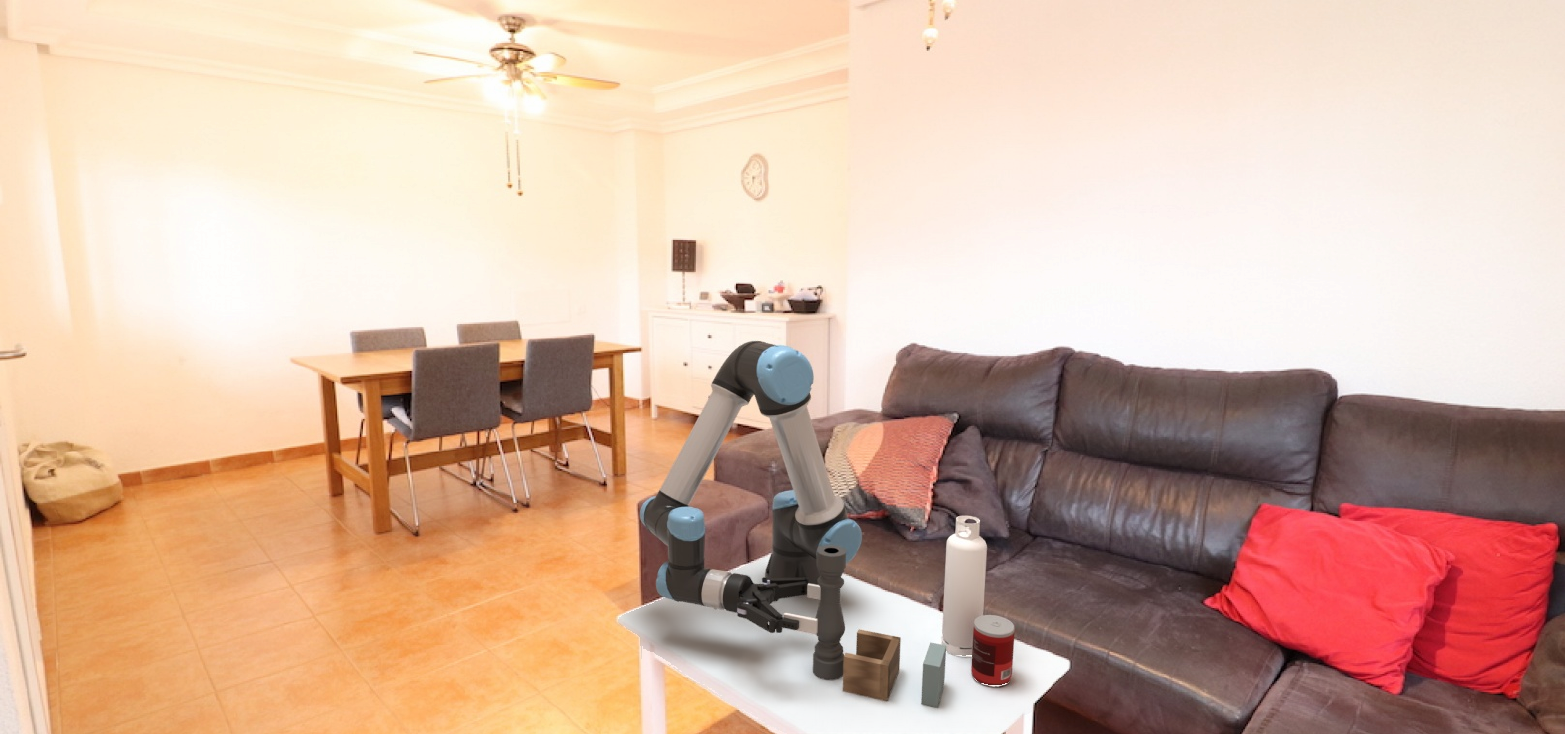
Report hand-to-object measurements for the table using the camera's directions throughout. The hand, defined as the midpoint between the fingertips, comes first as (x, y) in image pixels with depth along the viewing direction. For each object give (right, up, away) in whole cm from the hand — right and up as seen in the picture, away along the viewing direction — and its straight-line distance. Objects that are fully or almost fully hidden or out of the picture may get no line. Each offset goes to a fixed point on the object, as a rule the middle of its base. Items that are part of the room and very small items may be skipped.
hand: (828, 610), depth 143 cm
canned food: (+32, -14, +1) cm, 35 cm away
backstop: (+19, -14, -5) cm, 24 cm away
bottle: (+29, -12, +12) cm, 33 cm away
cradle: (+8, -13, 0) cm, 15 cm away
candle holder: (0, -13, +2) cm, 13 cm away
